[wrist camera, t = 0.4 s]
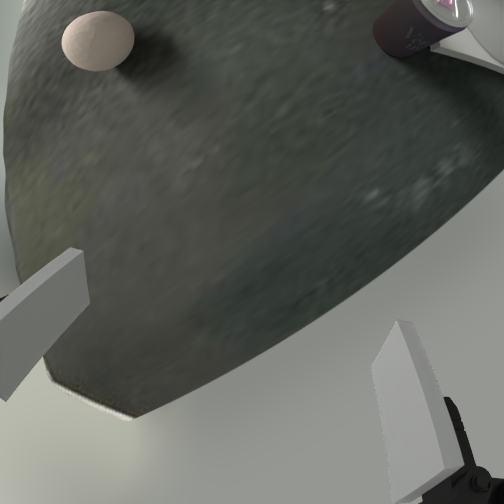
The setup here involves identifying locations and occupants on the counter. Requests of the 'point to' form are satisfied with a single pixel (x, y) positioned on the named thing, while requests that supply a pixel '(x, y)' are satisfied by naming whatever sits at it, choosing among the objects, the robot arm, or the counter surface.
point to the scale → (479, 37)
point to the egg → (98, 41)
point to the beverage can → (420, 24)
